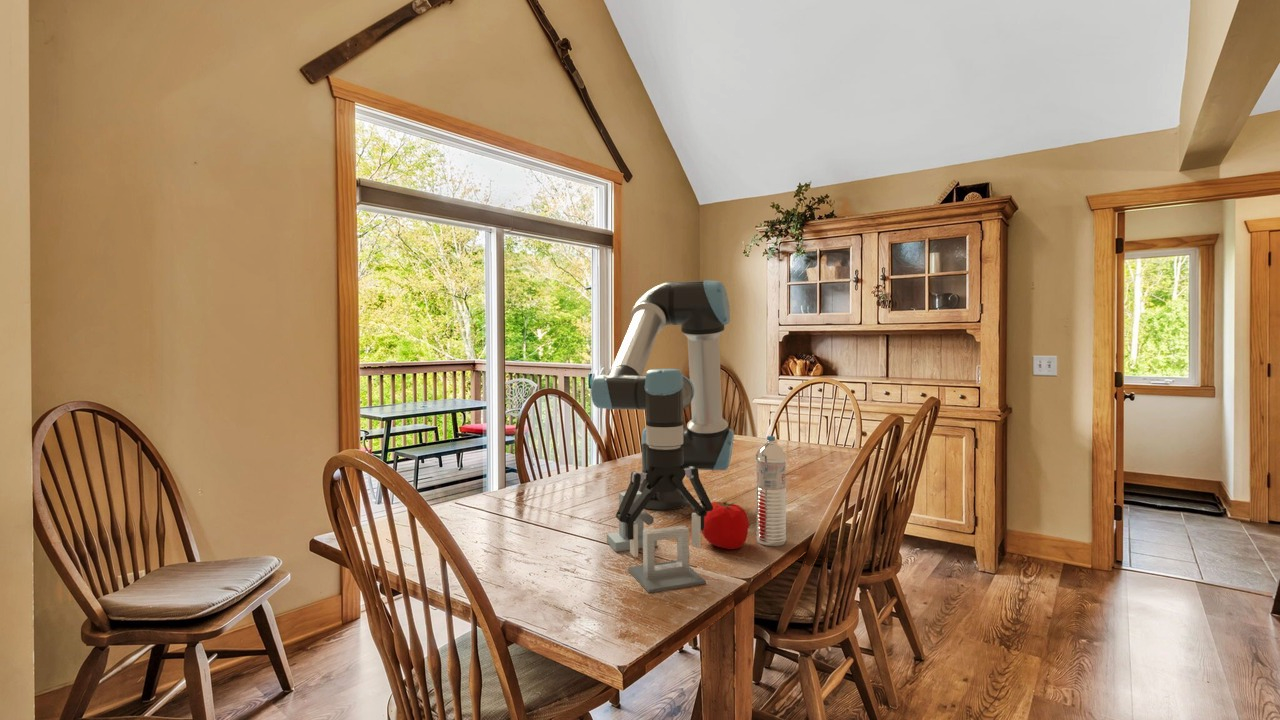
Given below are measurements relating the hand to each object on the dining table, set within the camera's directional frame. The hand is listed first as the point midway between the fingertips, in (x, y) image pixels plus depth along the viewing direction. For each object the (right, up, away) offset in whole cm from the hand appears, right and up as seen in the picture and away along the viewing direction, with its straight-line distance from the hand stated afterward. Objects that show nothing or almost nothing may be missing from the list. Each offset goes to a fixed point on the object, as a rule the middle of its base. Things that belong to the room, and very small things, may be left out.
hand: (665, 550), depth 121 cm
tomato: (+15, -5, +18) cm, 24 cm away
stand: (-6, -5, +16) cm, 17 cm away
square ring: (0, -5, 0) cm, 5 cm away
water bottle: (+26, -5, +20) cm, 33 cm away
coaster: (0, -5, 0) cm, 5 cm away
